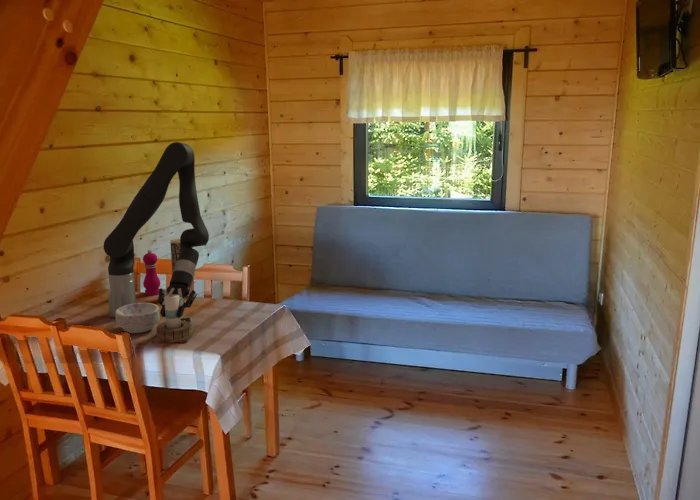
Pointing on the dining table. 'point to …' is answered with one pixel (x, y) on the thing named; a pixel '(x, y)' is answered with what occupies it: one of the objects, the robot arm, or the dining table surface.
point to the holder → (173, 333)
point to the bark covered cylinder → (175, 253)
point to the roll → (172, 311)
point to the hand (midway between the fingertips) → (170, 316)
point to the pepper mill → (151, 274)
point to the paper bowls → (137, 317)
